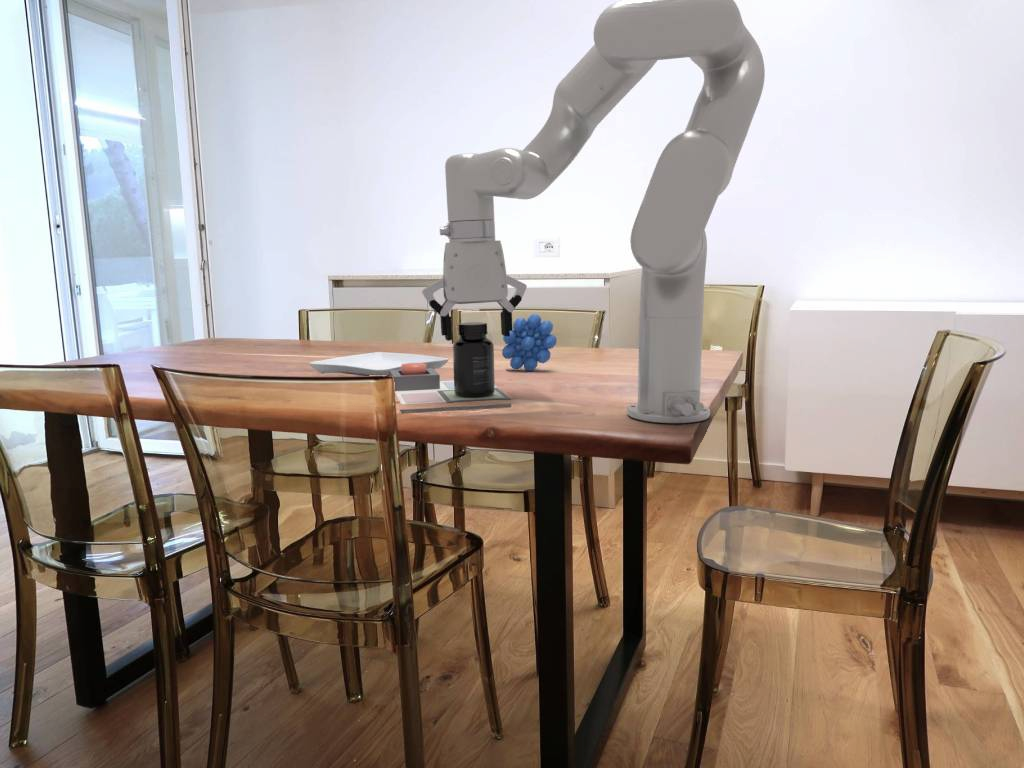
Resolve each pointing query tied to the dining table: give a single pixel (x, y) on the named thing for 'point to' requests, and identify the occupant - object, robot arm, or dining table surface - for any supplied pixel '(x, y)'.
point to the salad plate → (375, 363)
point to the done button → (413, 368)
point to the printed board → (446, 398)
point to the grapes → (529, 342)
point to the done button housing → (416, 380)
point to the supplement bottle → (473, 361)
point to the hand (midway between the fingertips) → (477, 337)
